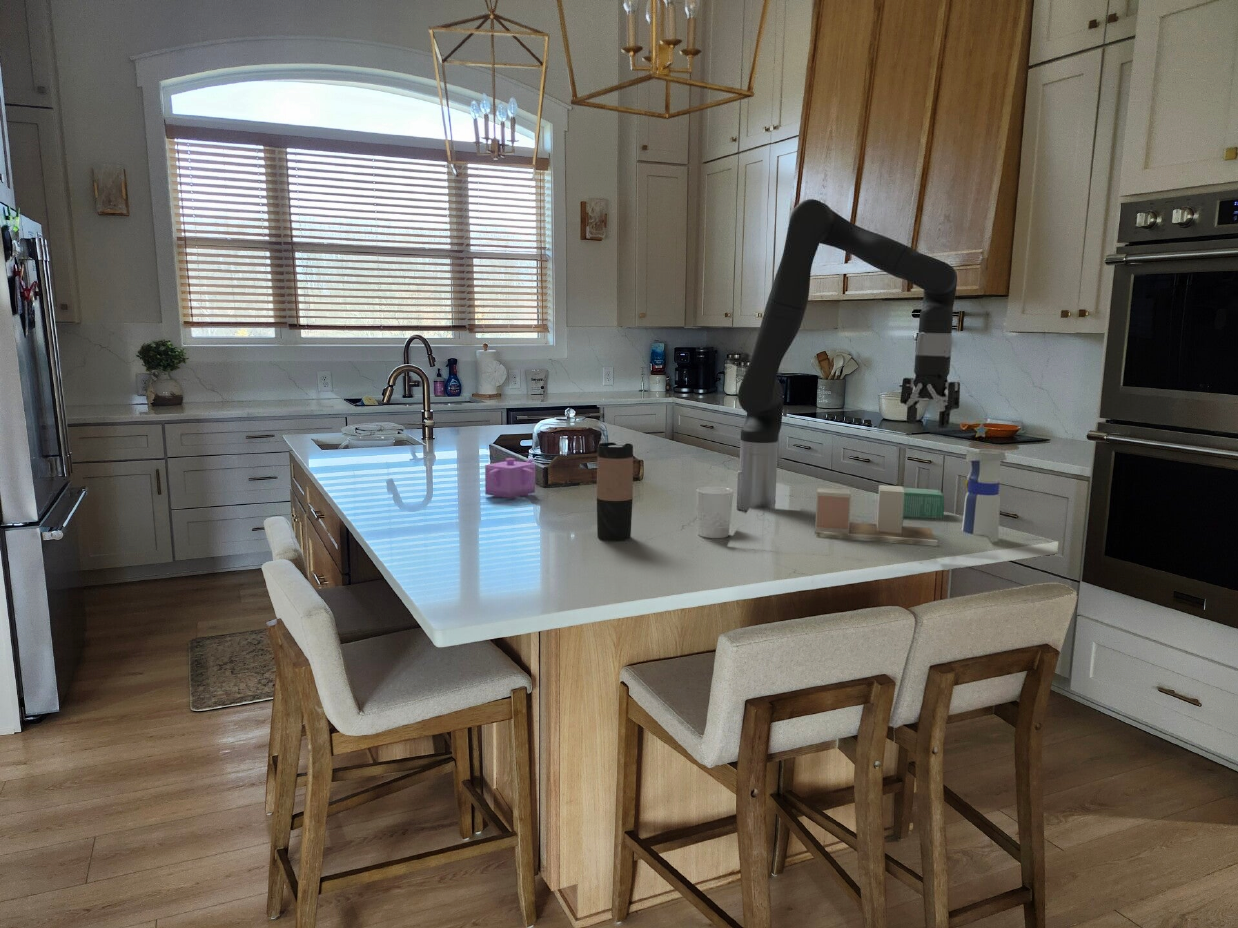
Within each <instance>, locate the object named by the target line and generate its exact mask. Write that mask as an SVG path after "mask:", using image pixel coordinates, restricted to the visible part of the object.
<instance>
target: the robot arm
mask: <svg viewBox="0 0 1238 928" xmlns="http://www.w3.org/2000/svg"><path fill="white" fill-rule="evenodd" d="M820 244H821V245H825V246H829V247H832V248H836V249H838V250H841V251H844V252H846V253H848V254H850V255H852V256H853V257H856V258H857V259H859V260H861V261H863V262H865V264H868V265H870V266H872V267H873V268H876V269H878V270H880V271H881V272H883V273H886V274H888V275H890V276H893V277H895V278H897V279H900V280H905V281H907V282H908V283H910V284H912V285H914V286H916V287H918V288H920V289H922V290H923V298H922V300H923V301H922V308H921V310H920V313H919V318H918V319H919V320H918V321H919V324H918V333H917V338H916V343H915V353H914V354H915V355H914V366H913V367H914V368H913V374H914V375H915V377H904V378H902V385H901V391H900V392H901V393H900V399H899V400H900V401H899V402H900V403H901V404H903V405H905V406H906V421H907V424H912V425H913V424H916V423H917V418H918V407H917V406H918V405H919V404H920V402H921V401H923V400H925V399H927V400H933V401H934V402H935V403H936V404H937V405H938V408H939V409H940V411H939V415H938V428H939V429H946V428H948V426H949V425H950V419H951V417H950V416H951V411H954V410H958V409H959V408H960V399H961V398H960V396H961V394H960V393H961V383H960V381H948V376H949V375H950V369H951V361H952V360H951V356H952V348H953V341H952V340H953V339H952V332H953V324H954V323H953V321H954V313H953V312H954V311H953V310H954V305H955V300H956V292H957V285H958V275H957V271H956V269H955V268H954V267H953V266H952V265H950V264H949V263H947V262H945V261H943V260H941V259H938V258H935V257H933V256H929V255H927V254H925V253H921V252H919V251H917V250H916V249H914V248H912V247H910V246H909V245H906V244H904V243H902V242H899V241H897V240H895V239H893V238H890V237H889V236H888V237H887V236H886V235H883V234H879V233H877V232H873V231H871V230H868V229H866V228H863V227H860V226H859V225H856V224H855V223H854V222H853V223H852V222H851V221H849V220H847V219H845V217H842V216H841V215H840V214H839V213H837V212H835V211H834V210H832V208H831V207H830V206H829V205H828V204H826V203H825V202H822V201H820V200H818V199H814V198H808V199H805V200H802V201H800V202H799V203H798V204H797V205H796V206H795V207H794V209H793V210H792V212H791V214H790V216H789V221H788V227H787V231H786V237H785V241H784V247H783V252H782V256H781V260H780V262H779V265H778V267H777V270H776V273H775V276H774V280H773V283H772V286H771V289H770V292H769V295H768V297H767V301H766V305H765V308H764V311H763V313H762V319H761V323H760V327H759V331H758V334H757V338H756V340H755V345H754V347H753V351H752V355H751V358H750V360H749V362H748V365H747V368H746V370H745V372H744V374H743V377H742V380H741V382H740V385H739V388H738V390H737V391H738V392H737V400H738V403H739V405H740V407H741V409H742V410H743V411H744V412H745V413H746V417H745V418H746V419H745V422H744V425H743V426H742V428H741V430H740V439H739V445H740V446H739V447H740V448H739V467H738V469H739V470H737V486H736V487H737V489H736V510H741V511H746V512H748V511H749V509H751V508H753V509H764V510H765V509H766V510H775V509H776V501H777V500H776V497H777V496H776V495H777V473H778V452H779V451H778V450H779V447H778V446H779V435H780V434H779V433H780V432H781V429H782V421H783V420H782V419H783V413H784V412H783V411H784V410H783V409H784V391H783V390H784V389H783V385H782V384H781V383H780V381H779V379H777V376H778V373H779V369H780V366H781V365H782V364H781V363H782V360H783V359H784V357H785V355H786V353H788V350H789V348H790V346H791V345H792V343H793V341H794V340H795V338H796V336H797V334H798V332H799V330H800V327H801V325H802V323H803V321H804V320H803V319H804V317H805V313H806V310H807V307H808V304H809V303H808V302H809V295H810V287H811V274H812V273H811V272H812V266H813V263H814V259H815V256H816V254H817V251H818V248H819V246H820ZM914 388H915V389H914ZM946 391H947V392H946Z"/></svg>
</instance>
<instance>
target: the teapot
mask: <svg viewBox="0 0 1238 928" xmlns="http://www.w3.org/2000/svg"><path fill="white" fill-rule="evenodd" d="M534 460H535V459H534V458H531V459H528V460H526V461H525V462H524V461H516V459H515V458H511V457H509V458H508V457H507V458H505V461H500V462H495V463H489V464H486V465H484V472H485V473H484V481H485V482H484V484H485V485H484V487H485V493H484V495H486V496H492V497H494V498H507V500H509V501H511V500H516V498H518V497H521V498H525V497H527V496H528V495H530V494H534V493H536V464H535V463H534V462H533V461H534Z"/></svg>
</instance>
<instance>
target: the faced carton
mask: <svg viewBox="0 0 1238 928" xmlns="http://www.w3.org/2000/svg"><path fill="white" fill-rule="evenodd" d="M851 498H852V489H848V488H847V489H842V488H827V487H818V488H817V490H816V502H815V503H816V507H815V526H814V534H817V531H820V532H834V533H848V534H849V522H851V521H850V519H851V518H850V517H851V503H852V501H851V500H852V499H851Z"/></svg>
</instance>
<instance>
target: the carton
mask: <svg viewBox="0 0 1238 928" xmlns="http://www.w3.org/2000/svg"><path fill="white" fill-rule="evenodd" d="M903 488H904V486H902V485H901V486H900V485H883V484H881V485H880V484H879V485H878V499H877V512H876V514H877V515H876V524H877V531H878V532H892V533H902V527H903V526H904V516H903V513H904V499H905V495H904V490H903Z"/></svg>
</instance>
